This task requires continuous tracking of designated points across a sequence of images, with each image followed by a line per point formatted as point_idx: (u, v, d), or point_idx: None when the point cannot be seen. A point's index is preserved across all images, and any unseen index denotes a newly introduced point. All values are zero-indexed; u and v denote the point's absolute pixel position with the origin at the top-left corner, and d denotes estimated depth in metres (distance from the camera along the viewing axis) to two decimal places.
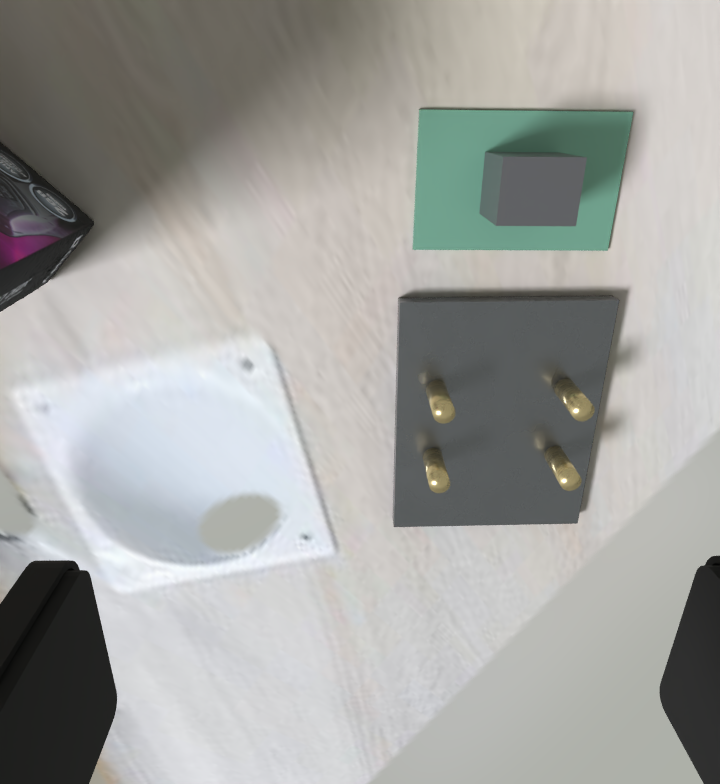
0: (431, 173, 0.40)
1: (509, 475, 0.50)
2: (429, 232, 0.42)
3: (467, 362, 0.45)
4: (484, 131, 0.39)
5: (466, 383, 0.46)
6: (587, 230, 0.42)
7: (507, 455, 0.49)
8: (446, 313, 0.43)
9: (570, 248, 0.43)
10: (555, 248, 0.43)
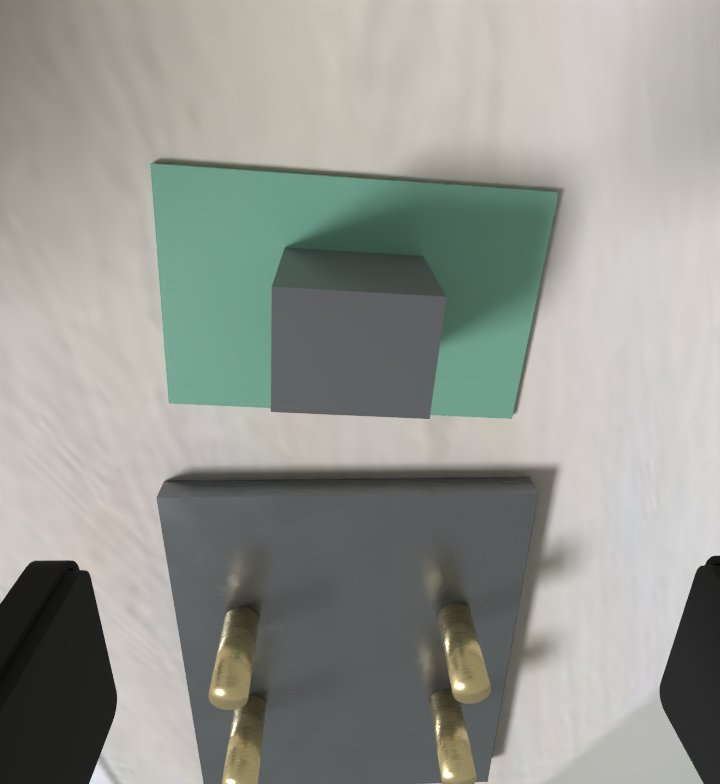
0: (187, 279, 0.22)
1: (376, 727, 0.32)
2: (194, 377, 0.23)
3: (288, 582, 0.27)
4: (280, 210, 0.21)
5: (291, 611, 0.28)
6: (476, 386, 0.24)
7: (370, 703, 0.31)
8: (241, 513, 0.25)
9: (447, 412, 0.25)
10: None
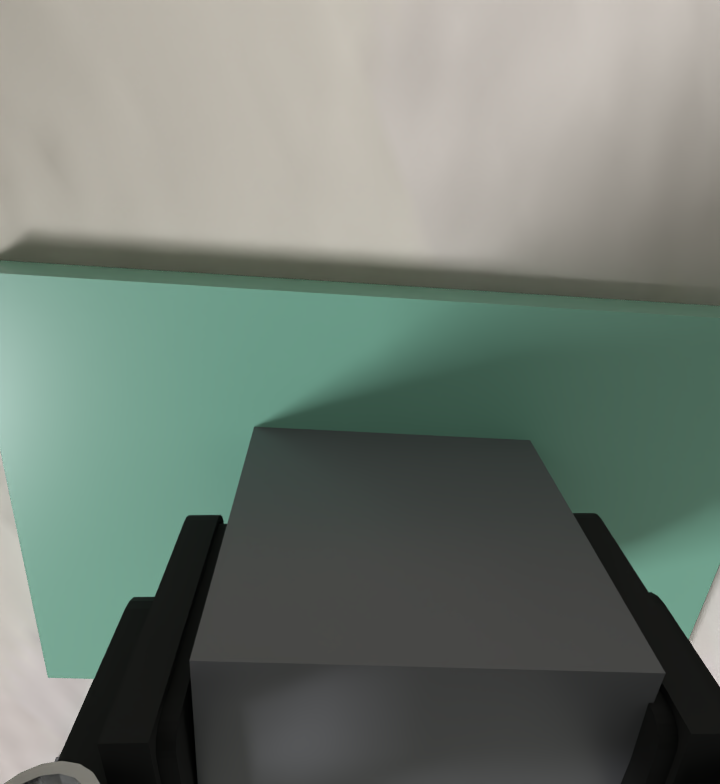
0: (63, 484, 0.11)
1: None
2: (92, 640, 0.13)
3: None
4: (244, 359, 0.10)
5: None
6: None
7: None
8: None
9: None
10: None
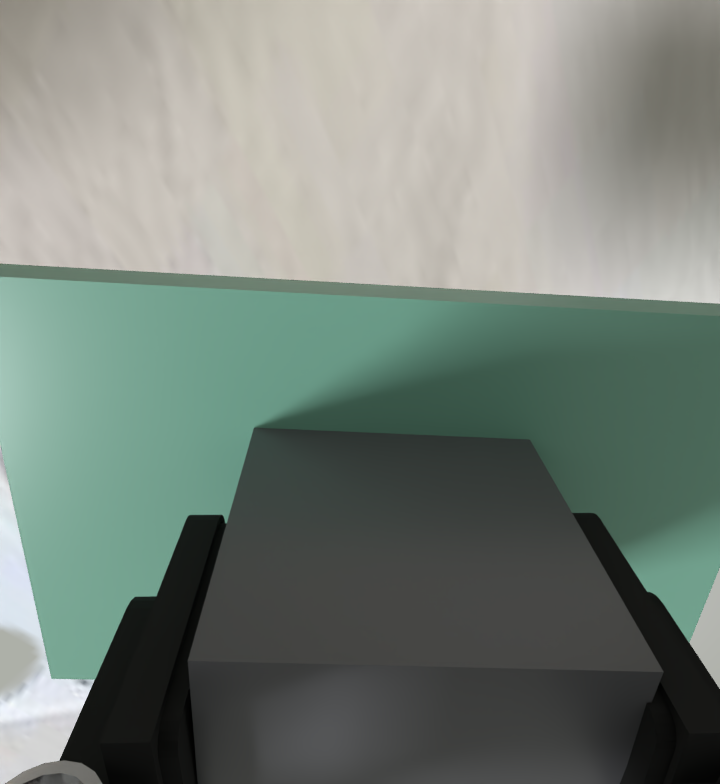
0: (64, 486, 0.11)
1: None
2: (95, 640, 0.13)
3: None
4: (244, 361, 0.10)
5: None
6: None
7: None
8: None
9: None
10: None
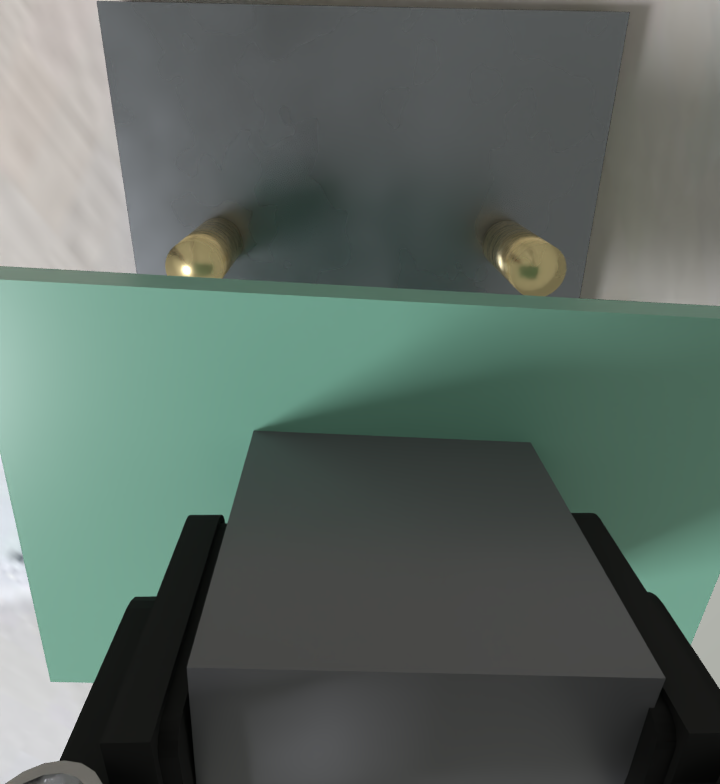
0: (64, 489, 0.11)
1: None
2: (94, 644, 0.13)
3: (282, 173, 0.20)
4: (242, 364, 0.10)
5: (285, 226, 0.21)
6: None
7: None
8: (215, 37, 0.18)
9: None
10: None
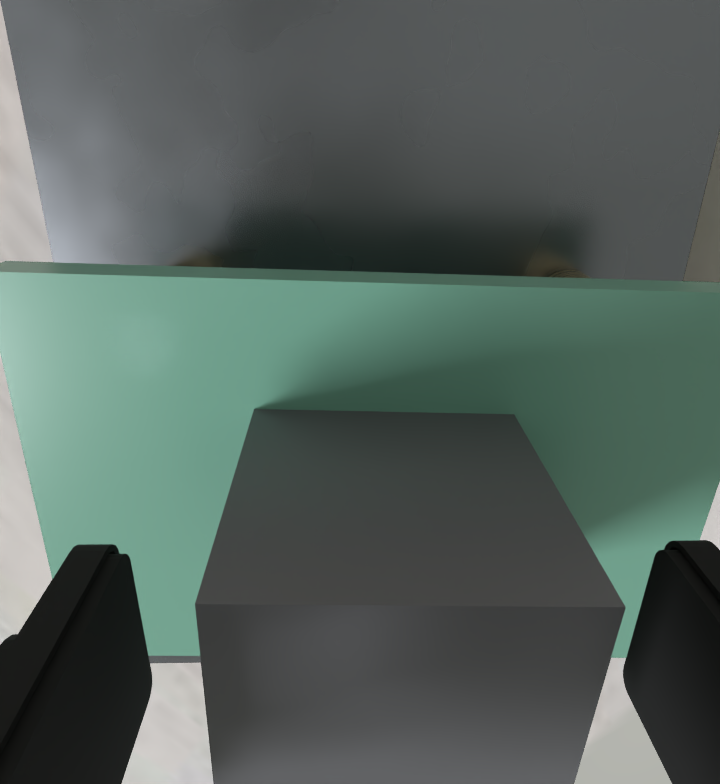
0: (79, 468, 0.12)
1: None
2: None
3: (263, 207, 0.14)
4: (242, 346, 0.11)
5: None
6: None
7: None
8: (165, 18, 0.13)
9: None
10: None
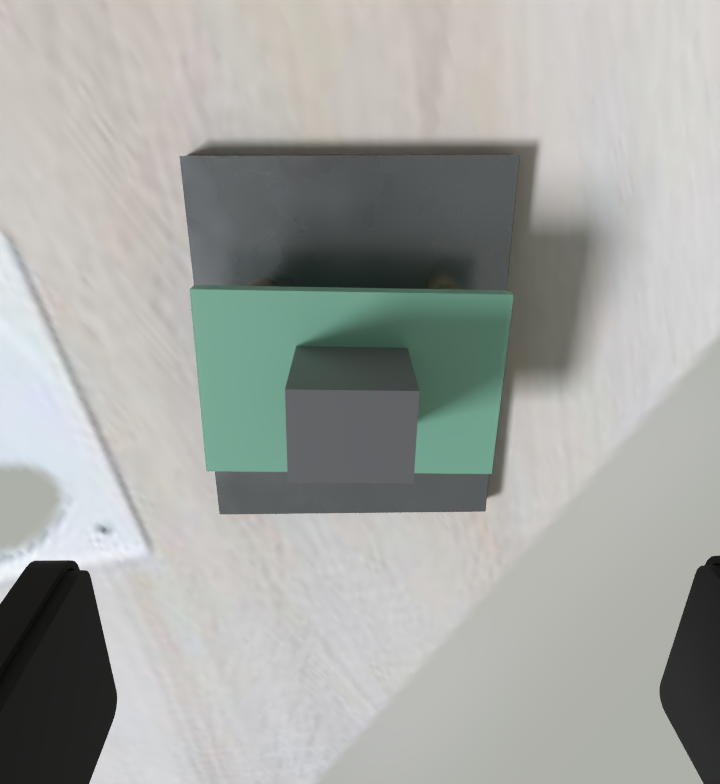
0: (219, 373, 0.27)
1: None
2: (227, 450, 0.29)
3: (296, 257, 0.30)
4: (291, 318, 0.26)
5: None
6: (459, 448, 0.29)
7: None
8: (253, 175, 0.28)
9: (437, 471, 0.29)
10: (415, 470, 0.29)
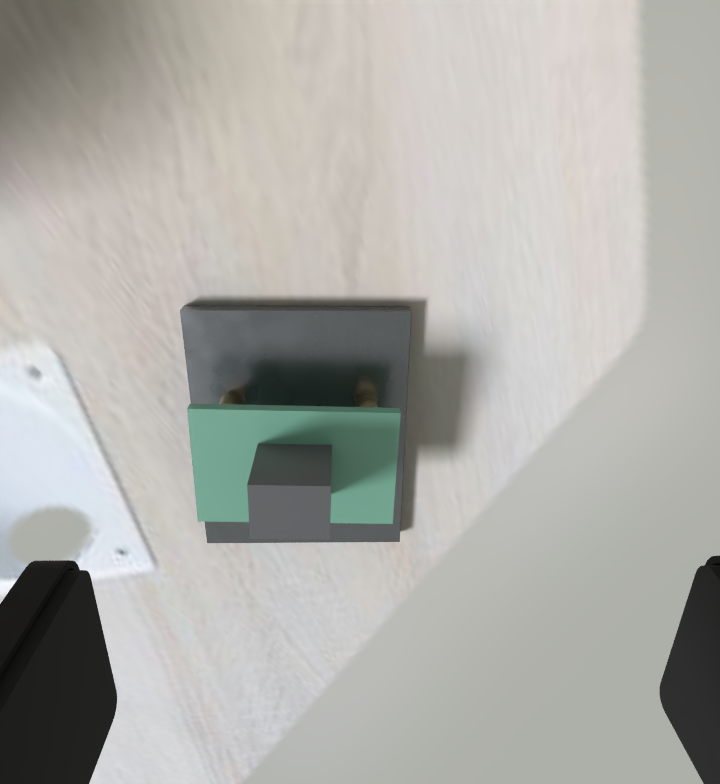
0: (207, 460, 0.41)
1: None
2: (212, 507, 0.42)
3: (260, 373, 0.43)
4: (254, 426, 0.40)
5: (262, 395, 0.44)
6: (369, 507, 0.43)
7: None
8: (230, 322, 0.42)
9: (355, 521, 0.43)
10: (340, 521, 0.43)
